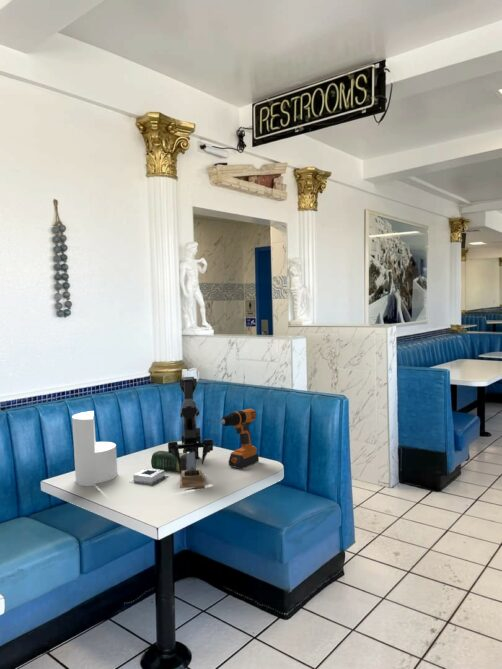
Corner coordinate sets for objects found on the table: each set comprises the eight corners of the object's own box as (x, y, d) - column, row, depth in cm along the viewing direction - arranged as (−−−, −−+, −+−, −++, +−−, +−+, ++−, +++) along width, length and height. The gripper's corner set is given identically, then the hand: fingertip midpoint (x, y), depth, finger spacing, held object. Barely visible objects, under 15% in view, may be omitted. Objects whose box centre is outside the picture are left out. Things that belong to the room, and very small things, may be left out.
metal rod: (190, 477, 216) (188, 449, 215) (198, 478, 215) (197, 450, 213) (185, 481, 213) (183, 452, 212) (193, 482, 211) (191, 453, 210)
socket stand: (146, 475, 224) (146, 466, 224) (169, 478, 219) (169, 469, 219) (128, 484, 214) (128, 475, 213) (152, 488, 208) (152, 478, 208)
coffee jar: (149, 470, 229) (185, 475, 221) (150, 452, 229) (185, 456, 222) (162, 466, 238) (197, 470, 230) (162, 449, 238) (197, 452, 230)
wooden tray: (180, 477, 221) (179, 467, 221) (203, 475, 222) (203, 466, 222) (179, 490, 205) (179, 480, 205) (204, 488, 206) (204, 478, 206)
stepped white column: (74, 488, 212) (70, 421, 210) (77, 474, 229) (73, 412, 227) (117, 482, 217) (114, 417, 215) (117, 470, 233) (113, 408, 231)
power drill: (230, 474, 222) (228, 417, 221) (218, 470, 227) (215, 415, 225) (261, 461, 239) (260, 407, 237) (249, 458, 244) (247, 406, 242)
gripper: (167, 422, 215) (167, 456, 205) (211, 420, 217) (214, 453, 207) (168, 436, 223) (168, 469, 213) (211, 433, 225) (214, 466, 215)
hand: (191, 464), depth 212 cm, fingers open, 9 cm apart
